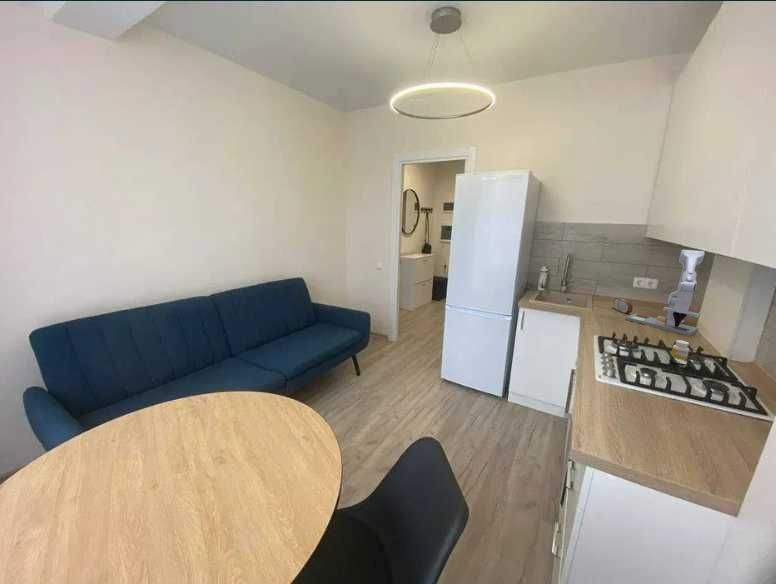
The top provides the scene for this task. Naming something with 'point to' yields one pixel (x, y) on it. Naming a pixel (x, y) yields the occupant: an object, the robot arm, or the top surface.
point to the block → (661, 320)
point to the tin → (623, 305)
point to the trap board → (669, 325)
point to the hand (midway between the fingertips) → (676, 325)
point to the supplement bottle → (680, 350)
